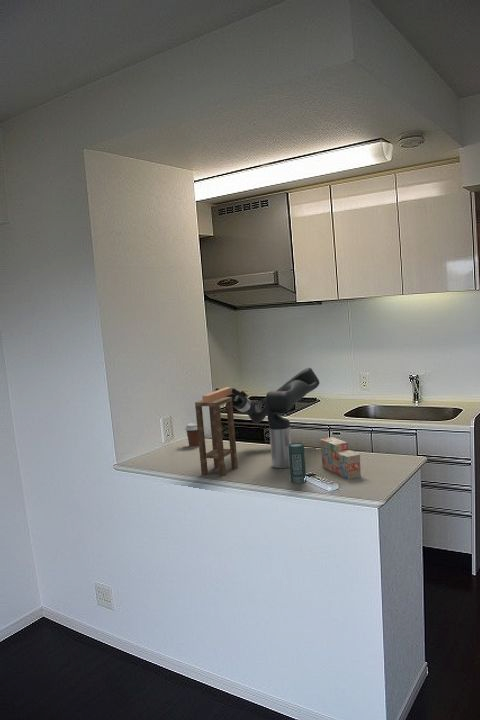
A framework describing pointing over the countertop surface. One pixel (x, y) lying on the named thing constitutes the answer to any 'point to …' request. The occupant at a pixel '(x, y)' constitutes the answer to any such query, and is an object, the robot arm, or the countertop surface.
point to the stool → (216, 435)
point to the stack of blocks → (340, 458)
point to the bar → (217, 395)
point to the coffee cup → (192, 435)
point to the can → (297, 462)
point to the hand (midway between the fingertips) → (224, 390)
